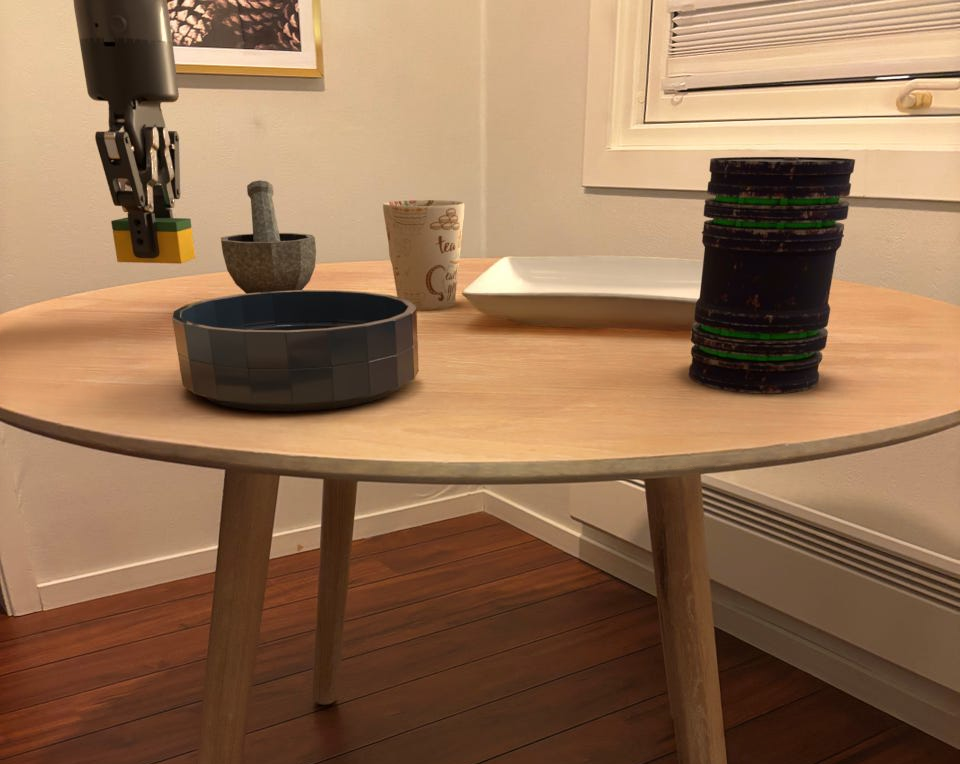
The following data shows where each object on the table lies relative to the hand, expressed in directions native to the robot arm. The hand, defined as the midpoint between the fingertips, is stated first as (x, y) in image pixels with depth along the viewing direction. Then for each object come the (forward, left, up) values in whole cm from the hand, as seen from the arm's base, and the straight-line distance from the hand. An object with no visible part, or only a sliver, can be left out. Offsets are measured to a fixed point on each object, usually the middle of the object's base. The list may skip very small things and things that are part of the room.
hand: (156, 253), depth 88 cm
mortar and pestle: (+7, +12, -7) cm, 16 cm away
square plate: (+43, +11, -7) cm, 45 cm away
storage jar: (+52, -18, -7) cm, 56 cm away
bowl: (+18, -22, -7) cm, 29 cm away
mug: (+22, +15, -7) cm, 28 cm away
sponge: (0, 0, -1) cm, 1 cm away
